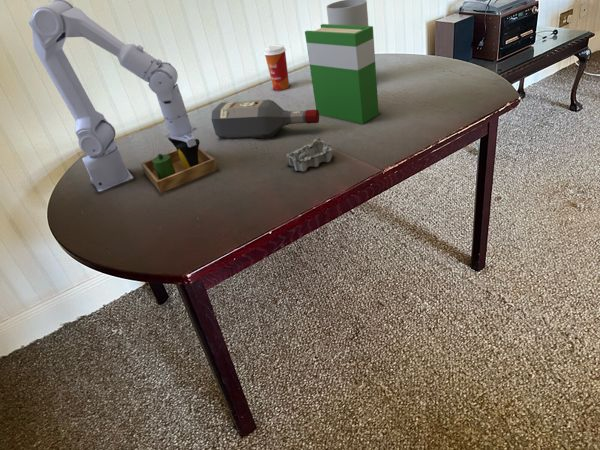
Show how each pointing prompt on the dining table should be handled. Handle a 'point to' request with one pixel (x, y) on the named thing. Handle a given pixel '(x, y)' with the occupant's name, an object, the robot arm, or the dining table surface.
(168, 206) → the dining table surface
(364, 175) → the dining table surface
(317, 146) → the egg carton
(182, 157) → the yellow pepper
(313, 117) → the liquor
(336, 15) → the cylinder vase
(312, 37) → the hardback book
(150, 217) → the dining table surface
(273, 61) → the paper cup
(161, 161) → the green pepper
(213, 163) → the wooden tray
